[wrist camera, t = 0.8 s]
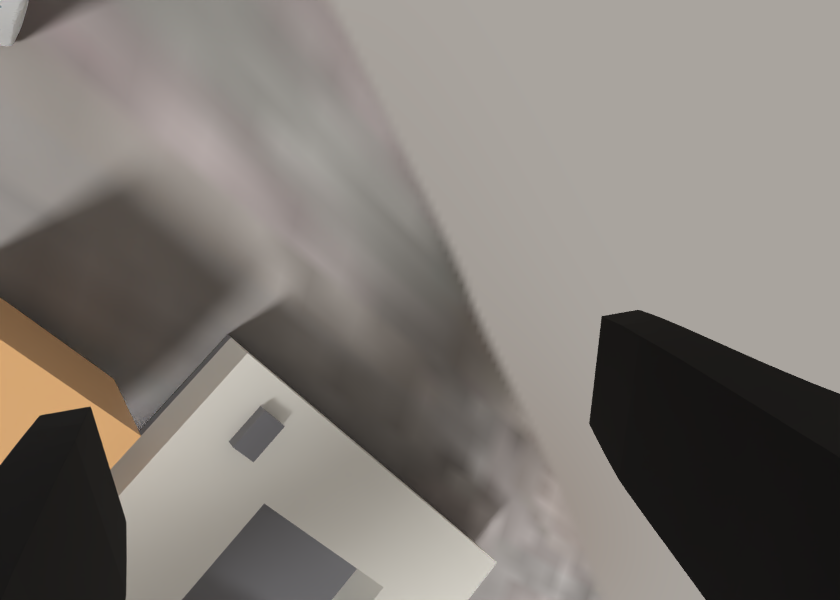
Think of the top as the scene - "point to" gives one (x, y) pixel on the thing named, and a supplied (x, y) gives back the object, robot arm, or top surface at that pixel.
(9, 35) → the syrup box
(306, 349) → the top surface
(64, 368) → the plug
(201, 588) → the white cutout panel
